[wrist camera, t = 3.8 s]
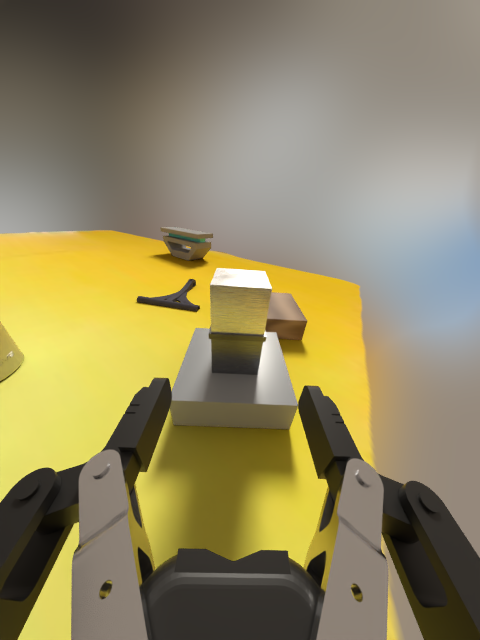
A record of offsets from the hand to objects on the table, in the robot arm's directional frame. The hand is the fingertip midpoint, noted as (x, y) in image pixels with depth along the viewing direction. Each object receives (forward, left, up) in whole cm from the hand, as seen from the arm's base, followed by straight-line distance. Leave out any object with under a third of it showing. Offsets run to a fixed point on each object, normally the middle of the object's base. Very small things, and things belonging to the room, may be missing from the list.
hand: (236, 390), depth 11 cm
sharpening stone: (-23, +78, -10) cm, 82 cm away
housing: (0, +9, -6) cm, 11 cm away
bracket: (-14, +36, -11) cm, 40 cm away
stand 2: (+6, +25, -10) cm, 28 cm away
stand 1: (0, +9, -10) cm, 14 cm away
